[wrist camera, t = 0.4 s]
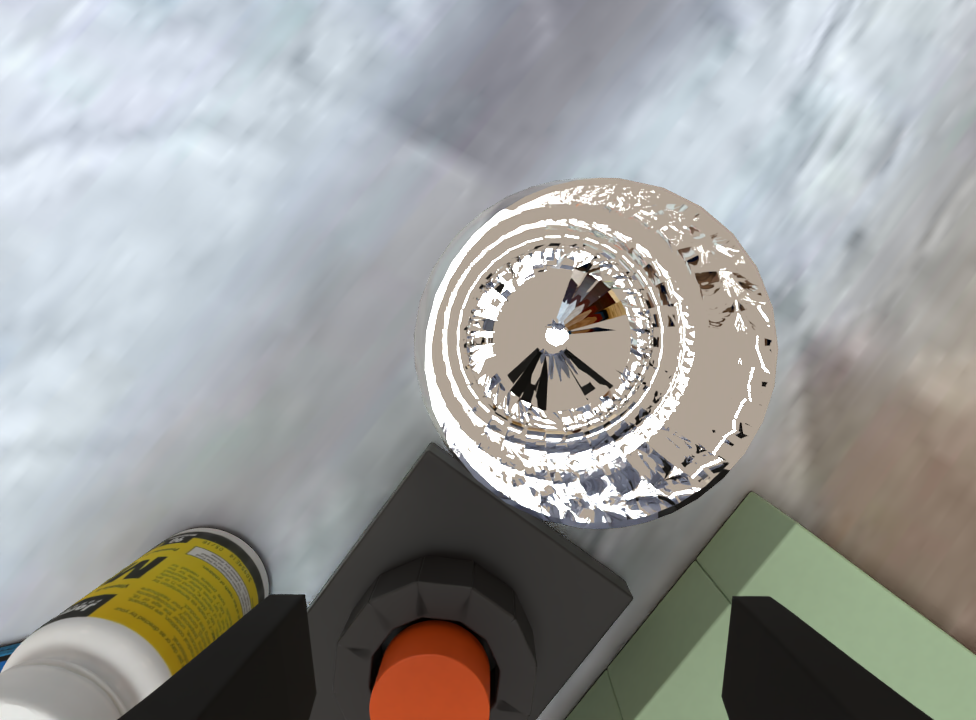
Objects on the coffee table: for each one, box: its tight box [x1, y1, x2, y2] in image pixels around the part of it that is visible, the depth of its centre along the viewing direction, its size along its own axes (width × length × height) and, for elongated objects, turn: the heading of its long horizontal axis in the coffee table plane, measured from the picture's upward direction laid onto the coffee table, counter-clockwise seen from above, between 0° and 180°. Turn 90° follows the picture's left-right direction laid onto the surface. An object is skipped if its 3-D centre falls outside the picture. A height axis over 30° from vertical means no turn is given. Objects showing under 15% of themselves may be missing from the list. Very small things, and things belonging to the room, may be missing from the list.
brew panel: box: [307, 443, 633, 720], centre depth 18 cm, size 11×9×3 cm
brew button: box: [369, 620, 490, 720], centre depth 17 cm, size 4×4×2 cm
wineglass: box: [414, 178, 778, 529], centre depth 13 cm, size 6×6×12 cm
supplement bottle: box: [0, 528, 269, 720], centre depth 16 cm, size 5×5×8 cm
